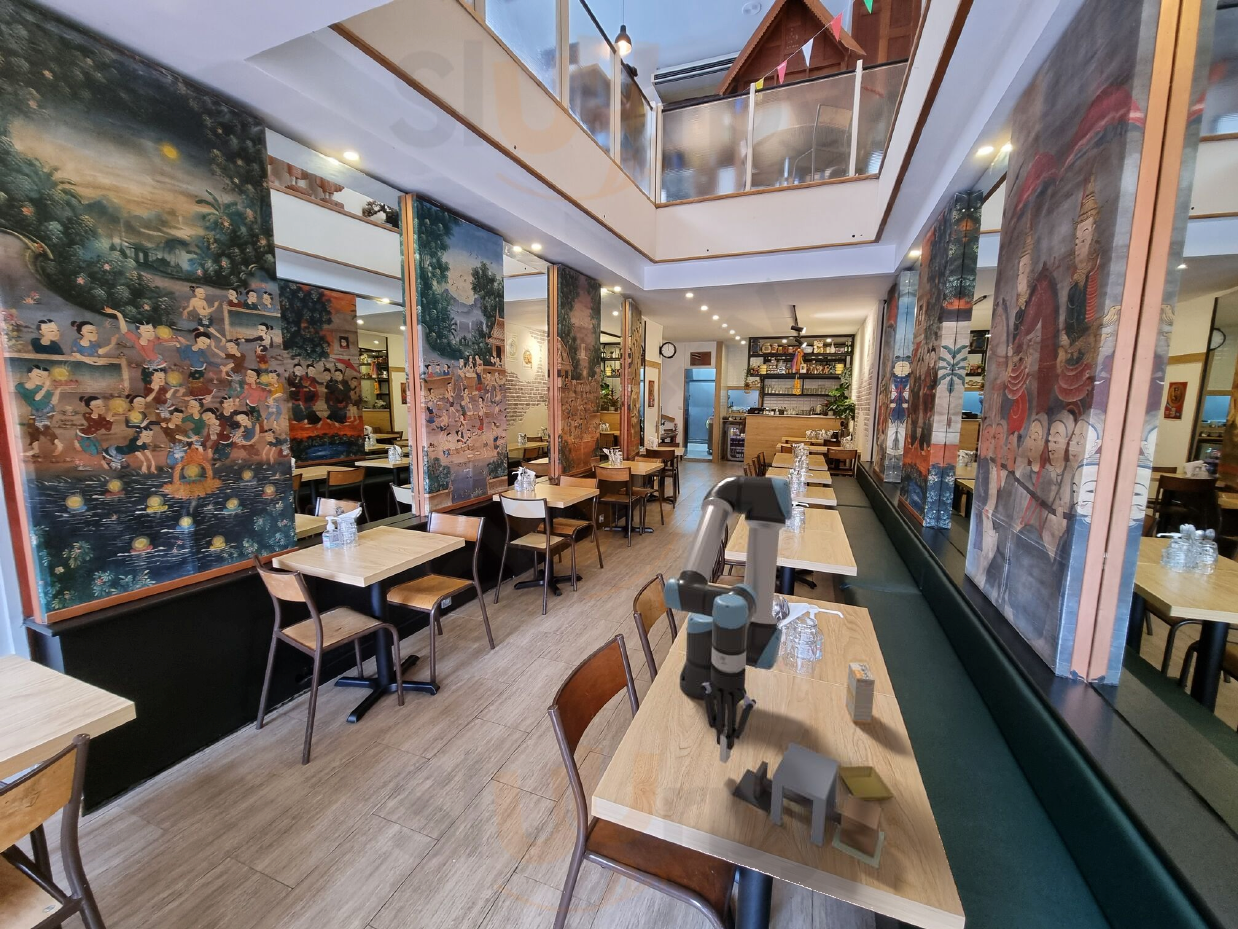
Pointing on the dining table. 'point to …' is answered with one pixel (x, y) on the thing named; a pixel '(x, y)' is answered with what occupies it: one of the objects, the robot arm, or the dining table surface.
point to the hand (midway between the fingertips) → (724, 758)
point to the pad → (858, 854)
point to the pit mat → (746, 792)
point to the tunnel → (806, 785)
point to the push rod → (836, 814)
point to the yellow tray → (865, 783)
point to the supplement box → (860, 693)
